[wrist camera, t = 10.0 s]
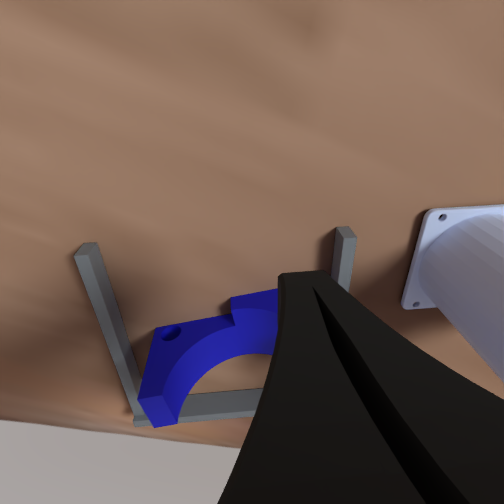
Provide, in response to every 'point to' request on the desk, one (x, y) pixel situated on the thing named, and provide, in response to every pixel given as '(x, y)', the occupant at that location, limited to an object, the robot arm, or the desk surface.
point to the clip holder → (123, 357)
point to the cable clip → (203, 351)
